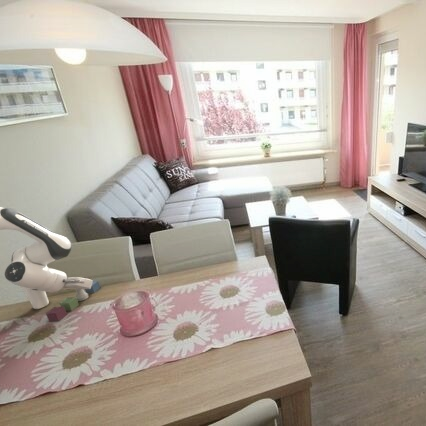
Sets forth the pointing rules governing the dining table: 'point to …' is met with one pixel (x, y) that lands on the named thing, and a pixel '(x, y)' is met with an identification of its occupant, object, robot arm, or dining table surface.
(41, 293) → the white tall hollow cylinder
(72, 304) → the block
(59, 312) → the block
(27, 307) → the dining table surface
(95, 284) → the block
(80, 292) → the rook chess piece
